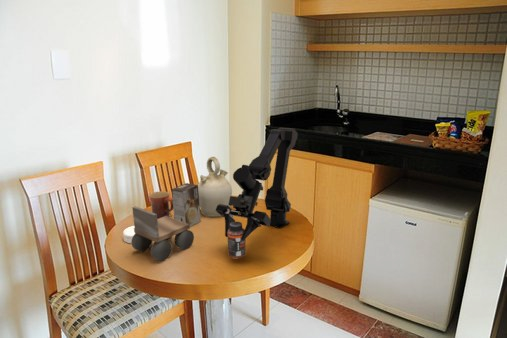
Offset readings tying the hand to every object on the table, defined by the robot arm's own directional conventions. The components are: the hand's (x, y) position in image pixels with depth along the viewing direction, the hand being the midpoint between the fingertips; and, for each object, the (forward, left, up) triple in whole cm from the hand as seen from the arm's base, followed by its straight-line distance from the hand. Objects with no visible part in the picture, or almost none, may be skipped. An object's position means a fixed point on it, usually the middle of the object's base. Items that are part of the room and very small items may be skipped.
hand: (234, 238), depth 127 cm
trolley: (+9, -26, -8) cm, 29 cm away
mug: (-9, -49, -8) cm, 51 cm away
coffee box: (-11, -36, -8) cm, 39 cm away
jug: (-27, -36, -9) cm, 46 cm away
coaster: (+9, -42, -9) cm, 44 cm away
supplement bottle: (-1, 0, -7) cm, 7 cm away
